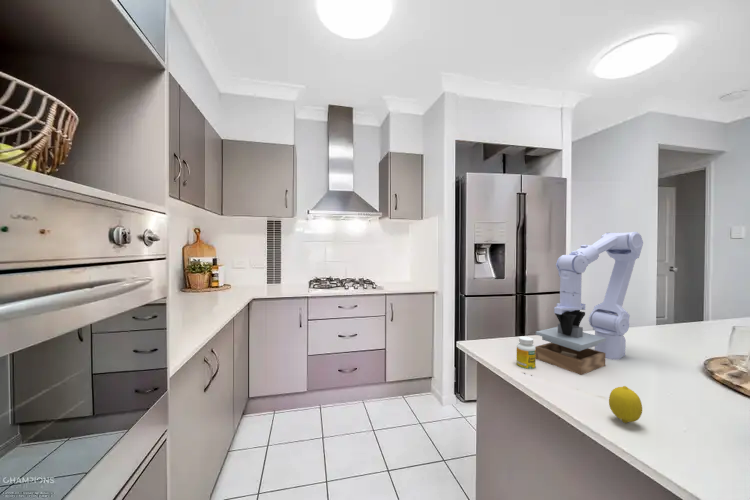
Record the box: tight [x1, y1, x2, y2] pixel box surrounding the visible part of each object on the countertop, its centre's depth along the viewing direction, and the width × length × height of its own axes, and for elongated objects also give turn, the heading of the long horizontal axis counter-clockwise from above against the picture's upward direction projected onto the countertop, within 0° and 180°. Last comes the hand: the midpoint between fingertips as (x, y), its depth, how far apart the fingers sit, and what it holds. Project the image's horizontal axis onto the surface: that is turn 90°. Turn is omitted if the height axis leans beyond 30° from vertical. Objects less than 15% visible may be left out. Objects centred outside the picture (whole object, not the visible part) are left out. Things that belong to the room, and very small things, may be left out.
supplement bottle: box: [516, 335, 537, 370], centre depth 92 cm, size 5×5×10 cm
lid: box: [535, 322, 606, 351], centre depth 95 cm, size 14×14×6 cm
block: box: [561, 351, 577, 358], centre depth 96 cm, size 4×4×2 cm
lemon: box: [608, 385, 643, 424], centre depth 64 cm, size 6×6×8 cm
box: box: [535, 342, 606, 376], centre depth 95 cm, size 14×14×5 cm
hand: (569, 333), depth 95 cm, fingers closed on lid, 3 cm apart
